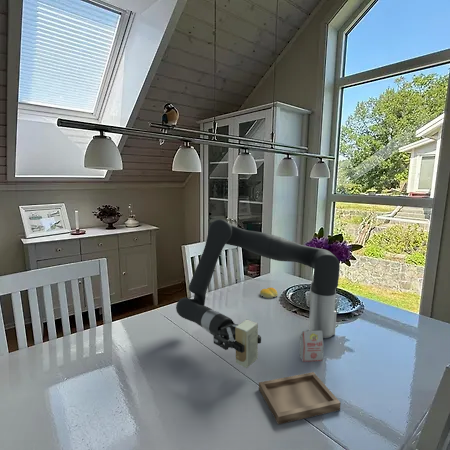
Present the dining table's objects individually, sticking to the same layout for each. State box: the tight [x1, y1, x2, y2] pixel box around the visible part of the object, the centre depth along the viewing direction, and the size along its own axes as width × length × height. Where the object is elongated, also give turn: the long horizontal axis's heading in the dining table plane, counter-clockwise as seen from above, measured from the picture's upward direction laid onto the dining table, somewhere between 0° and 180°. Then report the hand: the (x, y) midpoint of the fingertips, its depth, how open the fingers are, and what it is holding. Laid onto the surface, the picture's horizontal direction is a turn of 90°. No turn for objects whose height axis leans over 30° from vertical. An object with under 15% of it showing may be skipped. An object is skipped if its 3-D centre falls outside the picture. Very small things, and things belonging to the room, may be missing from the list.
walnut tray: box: [258, 371, 341, 425], centre depth 83 cm, size 18×13×2 cm
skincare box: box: [235, 318, 259, 369], centre depth 90 cm, size 6×4×12 cm
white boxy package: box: [299, 330, 324, 363], centre depth 101 cm, size 4×7×10 cm, turn 94°
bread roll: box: [259, 287, 279, 299], centre depth 155 cm, size 8×9×4 cm
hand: (252, 344), depth 89 cm, fingers closed on skincare box, 6 cm apart
